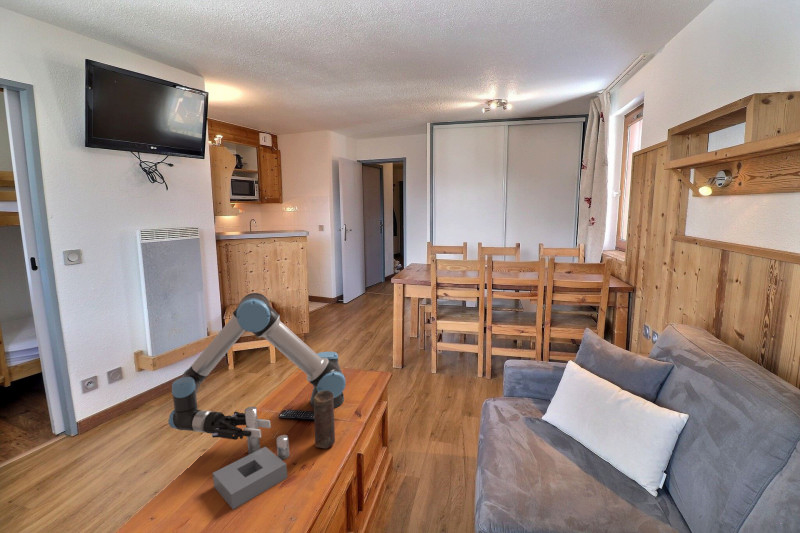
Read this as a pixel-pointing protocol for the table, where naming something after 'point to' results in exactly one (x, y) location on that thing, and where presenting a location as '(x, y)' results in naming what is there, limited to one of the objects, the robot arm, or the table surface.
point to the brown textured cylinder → (324, 419)
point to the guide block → (249, 476)
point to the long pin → (252, 423)
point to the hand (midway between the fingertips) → (265, 428)
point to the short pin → (282, 447)
